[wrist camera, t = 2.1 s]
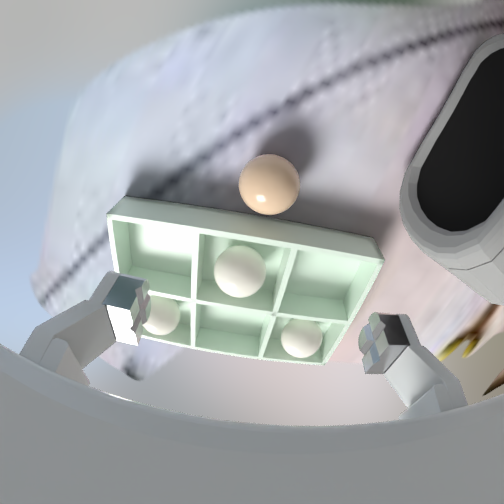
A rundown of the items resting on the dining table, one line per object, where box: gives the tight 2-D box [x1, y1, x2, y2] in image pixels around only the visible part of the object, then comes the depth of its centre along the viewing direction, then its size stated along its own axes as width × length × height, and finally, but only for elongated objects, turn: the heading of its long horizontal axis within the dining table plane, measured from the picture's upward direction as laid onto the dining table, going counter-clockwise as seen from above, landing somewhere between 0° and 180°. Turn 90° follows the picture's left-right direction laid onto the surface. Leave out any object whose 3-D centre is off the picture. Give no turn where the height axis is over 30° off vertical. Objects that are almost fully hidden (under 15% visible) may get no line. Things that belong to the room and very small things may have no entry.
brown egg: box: [239, 154, 300, 215], centre depth 20 cm, size 4×4×4 cm
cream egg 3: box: [281, 319, 323, 358], centre depth 28 cm, size 4×4×4 cm
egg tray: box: [107, 196, 385, 365], centre depth 26 cm, size 23×16×4 cm
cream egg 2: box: [214, 245, 266, 298], centre depth 23 cm, size 4×4×4 cm
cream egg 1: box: [143, 295, 180, 335], centre depth 27 cm, size 4×4×4 cm
